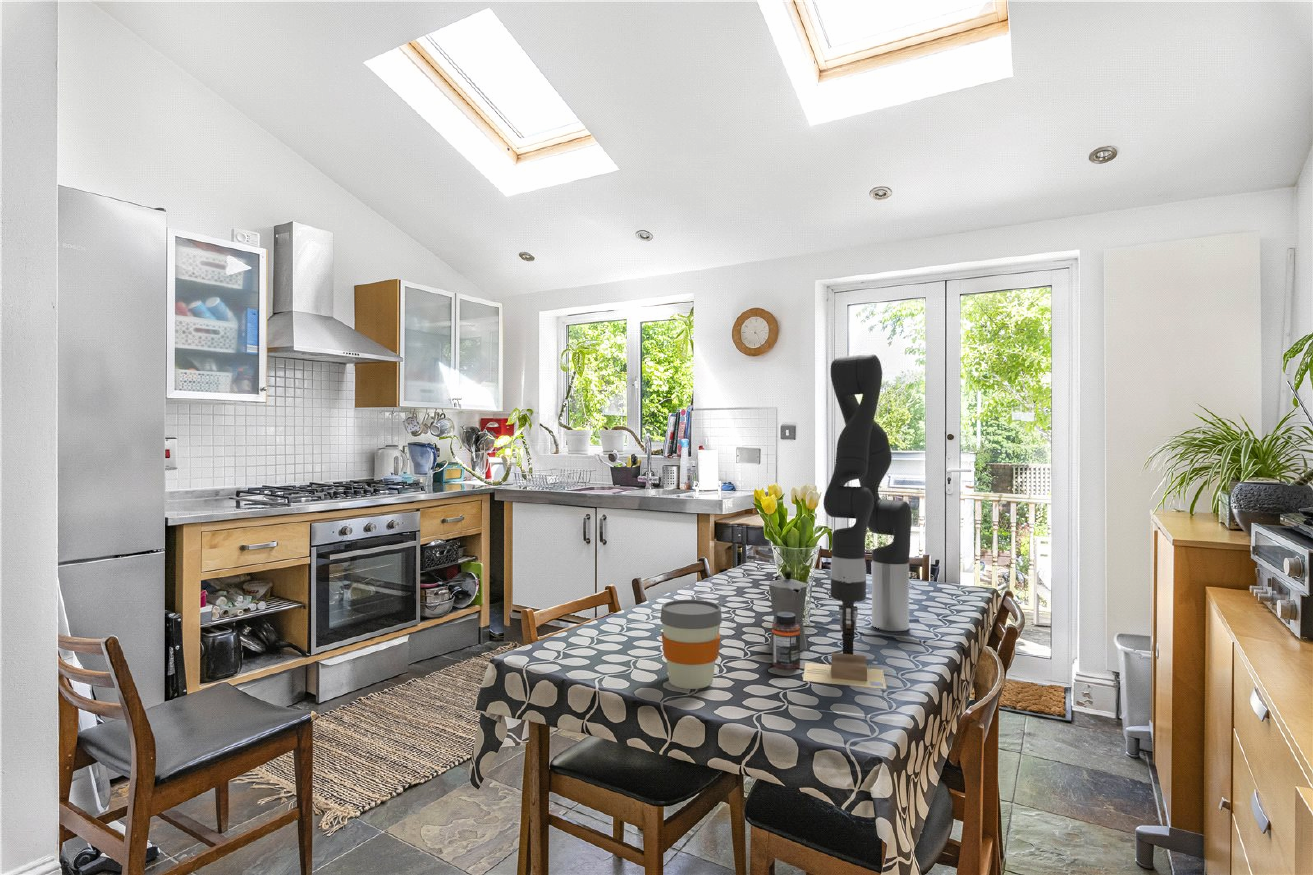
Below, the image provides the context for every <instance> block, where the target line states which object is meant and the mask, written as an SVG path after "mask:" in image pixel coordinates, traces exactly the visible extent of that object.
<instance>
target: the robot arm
mask: <svg viewBox="0 0 1313 875" xmlns="http://www.w3.org/2000/svg"><path fill="white" fill-rule="evenodd" d="M830 379H831V384H832V387H833V390H834V394H835V397H836V399H837V402H838V406H839V409H840V411H841V414H842V418H843V420H844V421H843V422H844V424H845V426H844V427H843V429H842V431H840V432H841V433H840V435H839V437H838V439H837V444H836V453H835V454H836V455H835V464H834V465H835V466H834V470H833V473H832V476H831V479H830V482H829V484H828V487H827V488H826V491H825V494H824V497H823V509H824V511H825V513H826V514H827V516H829V517H831V518H837V519H838V518H840V519H852V520H853V519H855V523H854V525H852V526H850V527H844V528H837V529H835V530H834V531H833V532H832V536H831V561H830V562H831V563H830V597H831V598H832V599H834V600H835V601H836V600H837V601H842V604H839V605H838V616H839V627H840V630H841V638H842V654H853V655H854V640H855V638H856V636H855V631H856V630H857V618H858V615H859V614H858V613H859V612H858V610H859V609H858V605H854V604H855V603H856V602H864V601H865V600H866V599H867V563H866V536H867V529H869V531H870V532H871V533H873V534H876V535H884V536H893V539H892V542H891V543H889V544H887V545H883V546H879V547H876V548H874V549H872V551H871V552H872V553H871V578H872V579H871V626H872V627H873V628H875V627H876V629H878V628H879V630H883V631H888V632H903V631H905V632H906V631H907V630H909V629H910V553H911V552H910V551H911V536H912V535H911V532H912V509H911V506H910V504H909V503H908V501H905V500H897V499H882V498H881V497H880V495H879V487H880V485H881V483H882V481H883V479H884V478H885V476H886V474H887V473H888V470H889V469H890V467H891V464H892V460H893V457H892V450H891V446H890V441H889V437H888V435H887V433H886V431H885V430H884V428H883V427H882V426H881V425H880V424H879V423H877V421H876V420H874V419H875V416H876V412H877V408H878V403H879V397H880V394H881V389H882V384H883V383H882V381H883V368H882V364H881V361H880V359H879V357H878V356H877V355H876V354H873V353H867V354H866V353H864V354H857V355H848V356H840V357H837V358H835V359H833V360H832V362H831V364H830ZM856 395H862V396H861V400H860V403H859V401H858V399H857V397H856ZM854 480H858V481H859V486H846V484H847V483H848V482H851V481H854Z"/></svg>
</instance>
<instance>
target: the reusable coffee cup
mask: <svg viewBox="0 0 1313 875" xmlns="http://www.w3.org/2000/svg"><path fill="white" fill-rule="evenodd" d="M660 610H661V612H660V622H661V625H662V633H661V641H662V642H661V643H662V650H663V656H664V658H665V659H666V666H667V674H668V682H669V683H670V685H672V686H674V687H677V688H681V689H686V690H690V689H691V690H697V689H703V688H707V687H710V686H711V685H712V684H713V682H714V675H715V666H716V660H718V658H719V653H720V644H721V637H722V636H721V633H720V628H721V624H722V623H723V617H722V607H721V605H719V604H718V603H716V602H713V601H708V600H704V599H703V600H701V599H676V600H670V601H667V602H664V603H663V604H662V605H661V609H660Z"/></svg>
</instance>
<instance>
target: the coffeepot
mask: <svg viewBox="0 0 1313 875" xmlns="http://www.w3.org/2000/svg"><path fill="white" fill-rule="evenodd" d="M784 575H785V577H784V576H782V575H780V574H777V575H776V576H775V577H774V580H771V581H769V583H768V588H769V594H770V595H769V596H770V602H771V610H772V613H773V619H772V625H771V626H773V624H774V623H776V621H777V619H776V618H777V613H779V612H790V613H794V614H795V619H796V620H795V622H796V623H797V624H798V625H799V627H800V653H801V652H804V651H807V646H808V644H807V639H806V638H807V637H806V631H805V625H804V624H805V623H804V620H803V614H804V609H805V604H806V597H807V589H808V588H807V587H808V583H806V582H803V581H799V580H795V579H793V578H792V571H789V570H787V571H784ZM768 648H770V649H772V630H771V632H770V638H769V644H768Z"/></svg>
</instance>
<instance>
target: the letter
mask: <svg viewBox="0 0 1313 875" xmlns="http://www.w3.org/2000/svg"><path fill="white" fill-rule="evenodd" d="M802 681H803V682H810V683H811V682H813V683H822V684H823V683H825V684H833V685H840V686H841V685H844V686H851V687H852V686H854V687H863V688H870V689H871V688H872V689H873V688H874V689H882V690H887V684H886V680H885V674H884V670H883V669H877V668H868V667H867V681H857V680H846V679H836V678H831V664H825V663H823V664H822V663H813V662H812V663H811V662H805V665H804V671H803V678H802Z"/></svg>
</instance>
